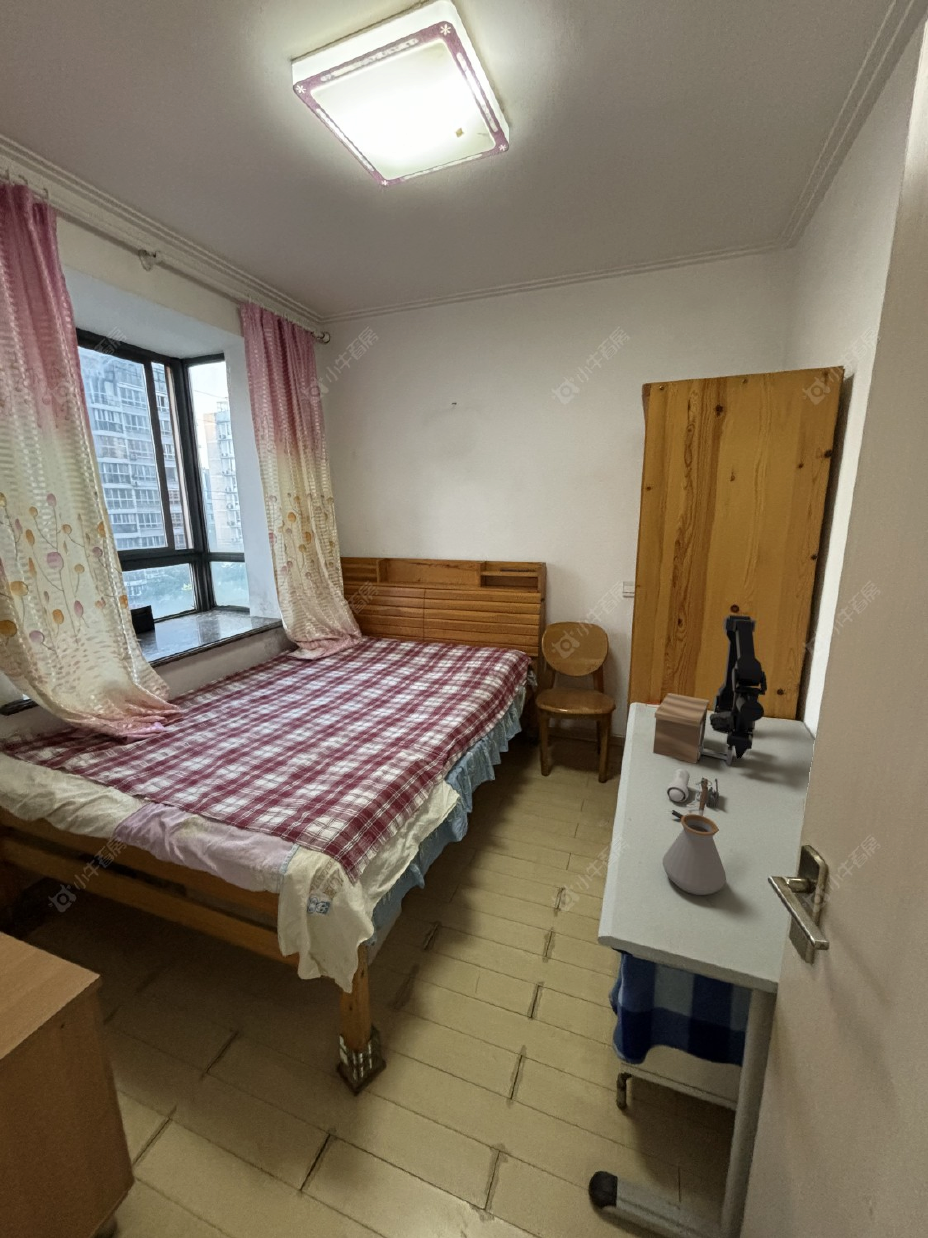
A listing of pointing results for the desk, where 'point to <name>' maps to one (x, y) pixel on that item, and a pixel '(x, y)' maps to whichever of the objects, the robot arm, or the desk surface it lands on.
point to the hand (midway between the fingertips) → (738, 758)
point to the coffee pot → (696, 854)
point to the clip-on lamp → (680, 792)
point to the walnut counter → (680, 726)
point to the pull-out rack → (715, 752)
